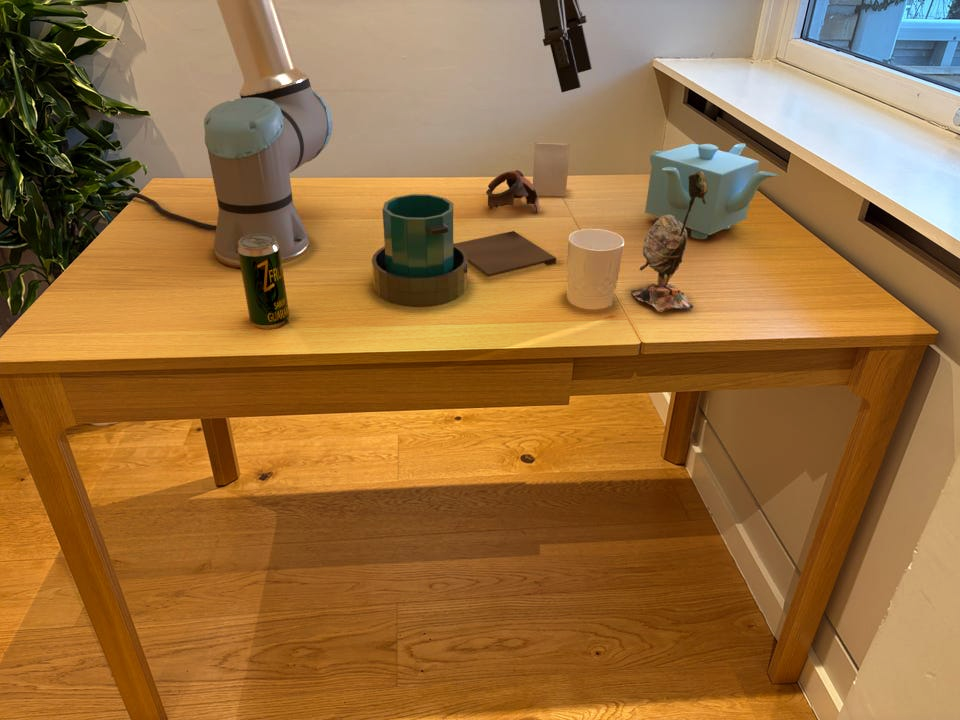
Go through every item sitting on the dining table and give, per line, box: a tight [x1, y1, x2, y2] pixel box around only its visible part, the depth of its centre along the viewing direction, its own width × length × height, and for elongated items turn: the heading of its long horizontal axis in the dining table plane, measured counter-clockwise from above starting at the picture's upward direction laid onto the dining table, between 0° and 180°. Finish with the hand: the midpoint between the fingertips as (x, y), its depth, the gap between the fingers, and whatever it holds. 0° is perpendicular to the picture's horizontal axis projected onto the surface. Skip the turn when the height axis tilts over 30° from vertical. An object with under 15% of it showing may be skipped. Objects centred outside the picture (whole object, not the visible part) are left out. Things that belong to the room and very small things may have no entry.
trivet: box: [454, 230, 557, 278], centre depth 120 cm, size 13×13×1 cm
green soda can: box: [238, 234, 290, 330], centre depth 98 cm, size 5×5×12 cm
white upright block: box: [532, 142, 570, 198], centre depth 145 cm, size 4×7×10 cm, turn 86°
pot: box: [382, 193, 455, 278], centre depth 107 cm, size 13×10×12 cm
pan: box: [371, 245, 469, 308], centre depth 109 cm, size 14×14×5 cm
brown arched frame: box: [485, 169, 541, 214], centre depth 139 cm, size 12×10×8 cm
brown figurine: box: [630, 171, 708, 313], centre depth 104 cm, size 8×11×20 cm
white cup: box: [566, 228, 625, 310], centre depth 105 cm, size 8×8×10 cm
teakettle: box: [644, 142, 778, 240], centre depth 130 cm, size 19×19×15 cm
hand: (577, 80), depth 108 cm, fingers open, 13 cm apart
